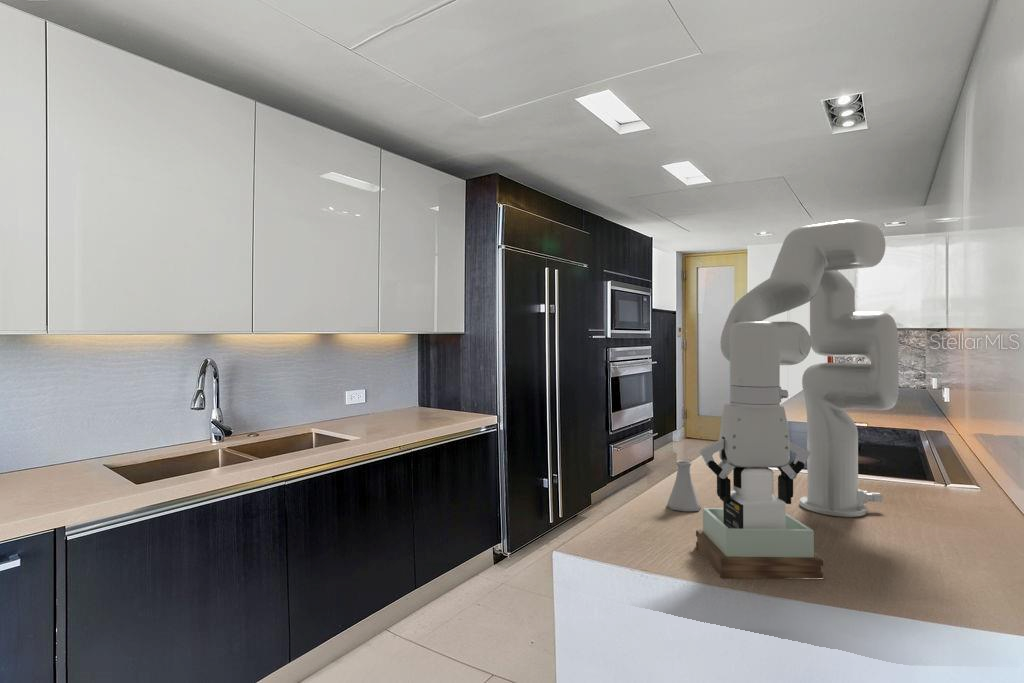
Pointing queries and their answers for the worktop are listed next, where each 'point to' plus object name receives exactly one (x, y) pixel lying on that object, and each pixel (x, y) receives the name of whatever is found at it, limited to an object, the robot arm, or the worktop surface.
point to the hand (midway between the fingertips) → (754, 501)
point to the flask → (683, 490)
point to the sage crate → (758, 538)
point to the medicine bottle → (754, 501)
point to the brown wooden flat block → (758, 563)
